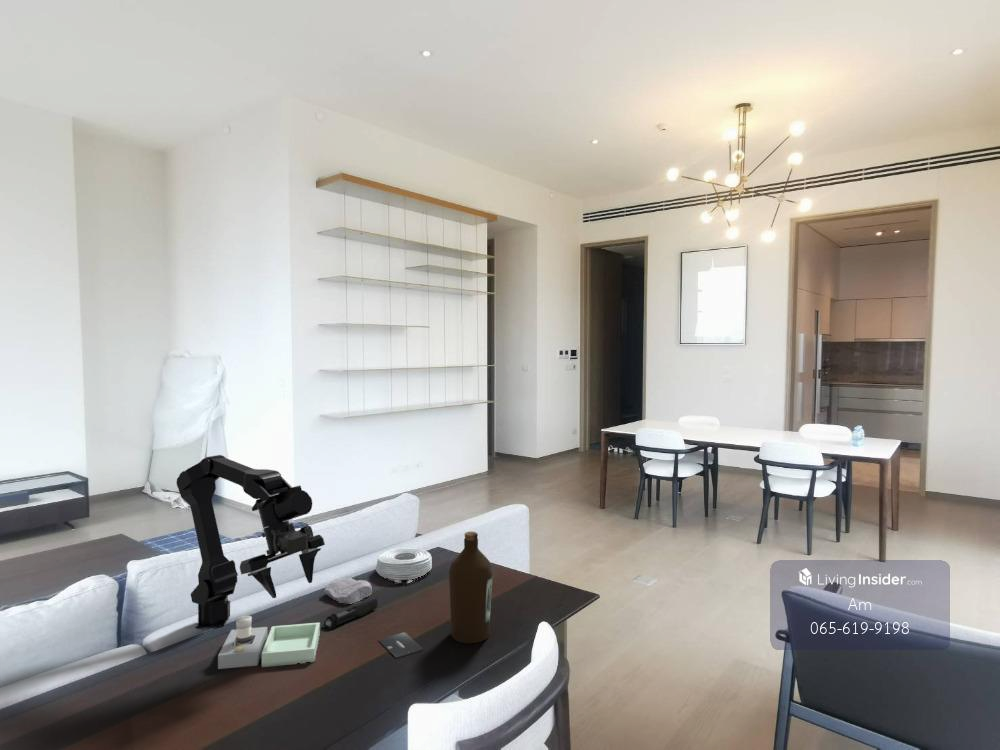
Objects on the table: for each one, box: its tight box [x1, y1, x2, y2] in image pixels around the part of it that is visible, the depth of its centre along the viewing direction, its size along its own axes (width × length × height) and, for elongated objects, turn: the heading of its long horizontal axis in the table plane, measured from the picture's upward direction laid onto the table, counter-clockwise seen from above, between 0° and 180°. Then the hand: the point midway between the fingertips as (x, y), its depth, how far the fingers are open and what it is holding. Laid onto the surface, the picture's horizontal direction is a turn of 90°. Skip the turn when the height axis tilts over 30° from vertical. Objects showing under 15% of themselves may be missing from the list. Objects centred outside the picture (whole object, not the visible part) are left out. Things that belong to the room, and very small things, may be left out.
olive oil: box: [448, 531, 494, 644], centre depth 142 cm, size 11×11×25 cm
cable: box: [375, 547, 433, 584], centre depth 183 cm, size 18×18×6 cm
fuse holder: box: [217, 626, 269, 670], centre depth 132 cm, size 8×12×4 cm, turn 12°
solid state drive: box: [378, 631, 424, 659], centre depth 136 cm, size 7×10×1 cm
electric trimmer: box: [323, 598, 378, 630], centre depth 151 cm, size 4×16×3 cm, turn 141°
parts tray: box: [261, 622, 321, 668], centre depth 134 cm, size 11×13×3 cm
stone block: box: [324, 576, 373, 605], centre depth 164 cm, size 12×5×10 cm
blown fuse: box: [235, 615, 253, 645], centre depth 132 cm, size 3×3×8 cm
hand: (293, 590), depth 134 cm, fingers open, 9 cm apart
